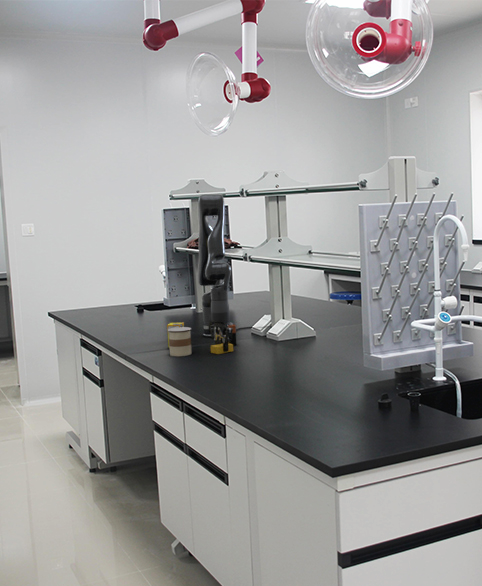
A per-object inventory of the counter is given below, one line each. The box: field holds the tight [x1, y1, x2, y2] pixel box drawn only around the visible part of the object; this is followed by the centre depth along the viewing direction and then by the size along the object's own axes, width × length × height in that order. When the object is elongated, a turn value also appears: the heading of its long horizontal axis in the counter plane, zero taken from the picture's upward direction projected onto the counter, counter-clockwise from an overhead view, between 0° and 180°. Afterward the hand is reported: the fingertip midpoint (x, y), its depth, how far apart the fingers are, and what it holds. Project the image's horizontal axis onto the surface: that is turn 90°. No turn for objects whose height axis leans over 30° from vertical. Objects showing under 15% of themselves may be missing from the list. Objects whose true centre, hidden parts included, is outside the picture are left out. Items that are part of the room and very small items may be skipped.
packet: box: [210, 343, 234, 355], centre depth 296 cm, size 8×5×3 cm, turn 132°
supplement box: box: [166, 321, 185, 349], centre depth 308 cm, size 6×6×11 cm
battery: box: [219, 322, 237, 346], centre depth 310 cm, size 4×7×10 cm, turn 116°
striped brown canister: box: [168, 326, 193, 357], centre depth 294 cm, size 10×10×11 cm
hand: (222, 350), depth 296 cm, fingers closed on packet, 5 cm apart
